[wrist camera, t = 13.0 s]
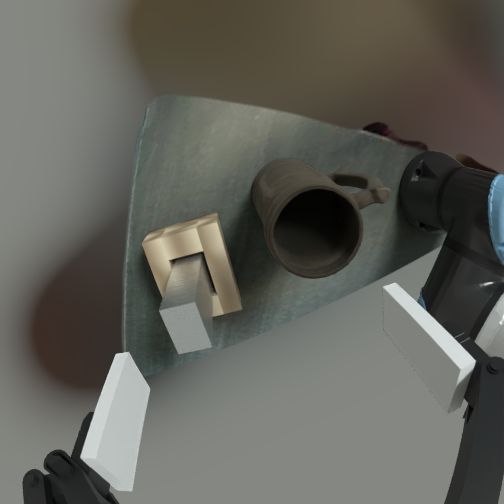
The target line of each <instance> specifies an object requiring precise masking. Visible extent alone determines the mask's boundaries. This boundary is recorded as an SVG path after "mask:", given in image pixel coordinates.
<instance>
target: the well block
mask: <svg viewBox="0 0 504 504" xmlns="http://www.w3.org/2000/svg"><path fill="white" fill-rule="evenodd" d="M142 246H143V248H144V251H145V254H146V257H147V259H148V262H149V265H150V267H151V270H152V273H153V275H154V278H155V280H156V283H157V285H158V288H159V290H160V293H161V295H162V298H163V296H164V293H165V290H166V286H167V283H168V280H169V277H170V274H171V271H172V268H173V265H174V262H175V259H176V258H179V257H183V256H186V255H190V254H194V253H197V252H201V251H204V255H205V258H206V261H207V264H208V267H209V270H210V274H211V277H212V280H213V317H214V316H218V315H222V314H226V313H230V312H234V311H238V310H242V304H241V297H240V291H239V287H238V284H237V281H236V277H235V274H234V270H233V267H232V263H231V260H230V256H229V253H228V249H227V246H226V242H225V239H224V235H223V232H222V228H221V224H220V221H219V217H218V214H217V213H213V214H210V215H206V216H202V217H199V218H195V219H191V220H188V221H184V222H181V223H177V224H174V225H170V226H167V227H163V228H160V229H156V230H153V231H150V233H149V234H148V235H147V237H146V238H145V240H144V241H143V243H142Z"/></svg>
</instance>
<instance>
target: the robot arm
mask: <svg viewBox="0 0 504 504" xmlns="http://www.w3.org/2000/svg"><path fill="white" fill-rule="evenodd" d="M400 202H401V207H402V210H403V213H404V215H405V217H406V218H407V220H408V221H409V222H410V223H411V224H412V225H413V226H414V227H416V228H418V229H420V230H422V231H424V232H426V233H431V234H447V236H446V238H445V241H444V243H443V245H442V248H441V250H440V253H439V255H438V257H437V260H436V262H435V264H434V266H433V268H432V271H431V273H430V275H429V277H428V279H427V281H426V283H425V285H424V287H422V289H421V292H420V297H419V299H418V301H417V302H416V301H415V300H414V299H413V298H412V297H411V296H410V295H408V294H407V293H406V292H405V291H404V290H403V289H402V288H401V287H400V286H399V285H398V284H396V283H392V284H389V285H386V286H384V287H383V330H384V331H385V333H386V334H387V335H388V336H389V338H390V339H391V340H392V341H393V343H394V344H395V346H396V347H397V348H398V349H399V351H400V352H401V353H402V355H403V356H404V357H405V359H406V360H407V361H408V363H409V364H410V365H411V367H412V368H413V369H414V371H415V372H416V373H417V375H418V376H419V377H420V379H421V380H422V381H423V383H424V384H425V385H426V387H427V388H428V390H429V391H430V392H431V394H432V395H433V397H434V398H435V399H436V401H437V402H438V404H439V405H440V406H441V408H442V409H443V411H444V412H445V413H446V414H449V413H450V412H452V411H454V410H456V409H458V408H459V407H461V404H462V402H463V399H465V400H466V401H467V402H468V406H467V408H466V411H465V413H464V416H463V418H465V422H464V428H463V434H462V439H461V443H460V448H459V453H458V457H457V462H456V465H455V469H454V473H453V476H452V480H451V484H450V487H449V490H448V493H447V497H446V500H445V503H444V504H498V500H499V495H500V491H501V486H502V480H503V475H504V175H498V174H494V173H490V172H486V171H481V170H477V169H473V168H468V167H465V166H463V165H462V164H461V163H459V162H458V161H457V160H455V159H454V158H452V157H451V156H450V155H448V154H445V153H443V152H436V151H426V152H423V153H421V154H419V155H417V156H416V157H415V158H414V159H413V160H412V161H411V162H410V163H409V165H408V166H407V168H406V170H405V172H404V174H403V177H402V181H401V186H400ZM149 393H150V388H149V386H148V385H147V383H146V381H145V380H144V378H143V376H142V375H141V373H140V371H139V369H138V368H137V366H136V364H135V363H134V361H133V359H132V357H131V355H130V354H129V352H125V353H119V354H116V355H115V358H114V361H113V363H112V366H111V368H110V371H109V374H108V376H107V379H106V382H105V384H104V387H103V390H102V393H101V395H100V398H99V401H98V404H97V407H96V410H95V412H89V413H88V415H87V416H86V417H85V419H84V420H83V422H82V425H81V428H80V429H81V430H80V431H79V434H78V437H77V440H76V443H75V446H74V449H73V452H72V455H71V457H70V456H69V455H68V454H67V453H66V452H65V451H63V450H54V451H52V452H50V453H49V454H48V455H47V457H46V458H45V460H44V469H45V470H47V471H48V472H49V473H50V474H48V475H44V474H43V473H42V472H41V471H39V470H37V469H32V470H30V471H28V472H27V473H26V474H25V476H24V478H23V496H24V504H119V503H118V501H117V500H116V498H115V497H114V495H113V494H112V493H111V492H110V491H109V488H110V485H111V486H113V487H114V488H115V489H116V490H119V491H133V482H134V477H135V470H136V464H137V457H138V451H139V445H140V440H141V434H142V429H143V423H144V418H145V412H146V407H147V403H148V397H149Z"/></svg>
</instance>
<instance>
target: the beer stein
mask: <svg viewBox="0 0 504 504" xmlns="http://www.w3.org/2000/svg"><path fill="white" fill-rule="evenodd" d="M339 185H341V186H352V187H357V188H361V189H364V190H363V191H361V192H358V193H355V194H349V193H348V192H347V191H346V190H345V189H344V188H342V187H341V186H339ZM390 195H391V190H390V189H389V188H387V187H384V186H383V184H382V182H381V180H380V179H379V178H378V177H377V176H375V175H372V174H368V173H348V171H347V170H346V169H344V168H340V169H339V170H337V171H336V172H334V173H332V174H331V175H326V176H325V175H323V174H322V173H320V172H319V171H317V170H316V169H314V168H312V167H310V166H309V165H307V164H306V163H304V162H302V161H299V160H297V159H292V158H283V159H278V160H275V161H273V162H270V163H269V164H267V165H266V166H264V167H263V168H262V169H261V171H260V172H259V173H258V175H257V176H256V178H255V181H254V183H253V189H252V198H253V202H254V206H255V208H256V211H257V213H258V215H259V217H260V219H261V221H262V223H263V225H264V238H265V241H266V245H267V247H268V249H269V251H270V253H271V255H272V256H273V257H274V258H275V260H276V261H277V262H278V263H279V264H280V265H282V266H283V267H284V268H285V269H286V270H287V271H289V272H291V273H293V274H295V275H297V276H300V277H303V278H310V279H316V278H323V277H327V276H330V275H333V274H335V273H337V272H338V271H340V270H341V269H343V268H344V267H346V266H347V265H348V264H349V263H350V261H351V260H352V259H353V258H354V257H355V255H356V253H357V251H358V249H359V247H360V245H361V242H362V238H363V220H362V215H361V213H360V211H359V210H360V209H362V208H364V207H366V206H368V205H371V204H373V203H381V204H383V203H385V202H386V201H387V200H388V199H389V198H390Z"/></svg>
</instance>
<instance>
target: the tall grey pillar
mask: <svg viewBox="0 0 504 504" xmlns="http://www.w3.org/2000/svg"><path fill="white" fill-rule="evenodd" d="M159 312H160V314H161V316H162V319H163V321H164V323H165V326H166V328H167V330H168V332H169V334H170V337H171V339H172V341H173V343H174V345H175V347H176V349H177V352H178V354H182V353H187V352H192V351H196V350H201V349H206V348H210V347H212V328H213V280H212V277H211V274H210V270H209V267H208V264H207V261H206V258H205V255H204V251H201V252H197V253H194V254H190V255H186V256H183V257H179V258H176V259H175V262H174V265H173V268H172V271H171V274H170V277H169V280H168V283H167V286H166V290H165V293H164V296H163V299H162V302H161V306H160V309H159Z"/></svg>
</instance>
